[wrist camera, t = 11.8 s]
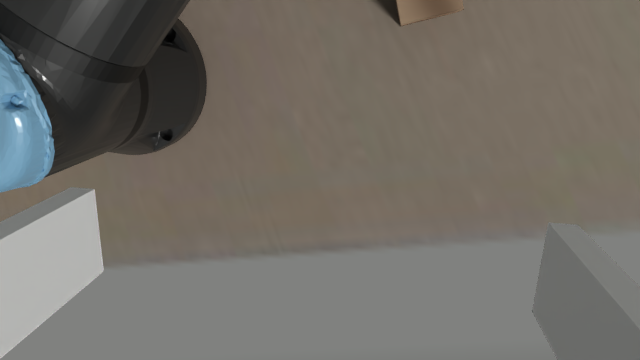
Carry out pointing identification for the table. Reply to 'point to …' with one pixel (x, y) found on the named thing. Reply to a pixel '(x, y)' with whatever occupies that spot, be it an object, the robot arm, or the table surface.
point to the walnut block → (425, 9)
